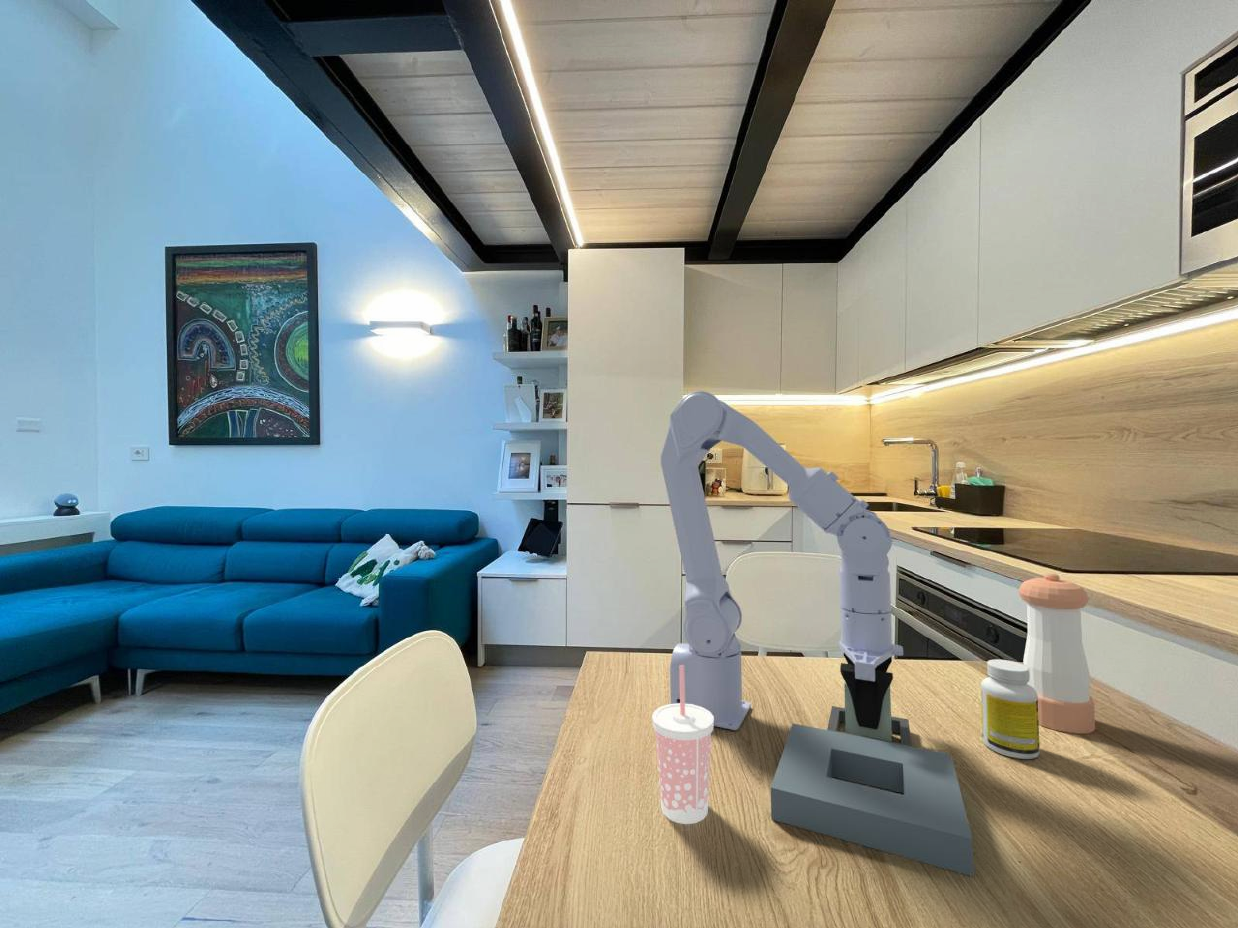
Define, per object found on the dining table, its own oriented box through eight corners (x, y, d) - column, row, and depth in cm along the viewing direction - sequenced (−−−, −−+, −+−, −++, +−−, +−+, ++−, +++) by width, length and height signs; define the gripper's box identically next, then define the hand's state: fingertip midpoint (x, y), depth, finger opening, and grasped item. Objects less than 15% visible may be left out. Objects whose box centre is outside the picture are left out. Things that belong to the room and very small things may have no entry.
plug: (845, 741, 63) (844, 675, 63) (847, 726, 66) (846, 664, 66) (892, 750, 60) (890, 682, 61) (891, 735, 64) (889, 670, 64)
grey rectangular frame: (826, 745, 62) (826, 732, 62) (832, 717, 69) (832, 705, 69) (912, 763, 58) (912, 749, 58) (908, 731, 65) (908, 719, 65)
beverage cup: (696, 784, 54) (694, 651, 55) (728, 819, 49) (725, 671, 49) (644, 797, 52) (641, 659, 53) (670, 836, 47) (667, 681, 47)
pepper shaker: (1040, 703, 72) (1034, 566, 72) (1106, 725, 65) (1100, 575, 66) (1010, 714, 69) (1005, 571, 69) (1077, 739, 62) (1071, 581, 63)
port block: (771, 819, 49) (770, 787, 49) (793, 748, 61) (792, 723, 61) (973, 876, 41) (972, 838, 41) (952, 783, 54) (951, 754, 54)
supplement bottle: (1051, 763, 57) (1047, 674, 57) (996, 758, 58) (993, 672, 59) (1023, 738, 63) (1020, 658, 63) (973, 734, 64) (971, 655, 64)
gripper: (904, 627, 55) (908, 754, 55) (899, 598, 68) (902, 700, 68) (833, 620, 59) (837, 740, 58) (842, 593, 72) (845, 691, 71)
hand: (868, 718), depth 63 cm, fingers closed on plug, 4 cm apart
